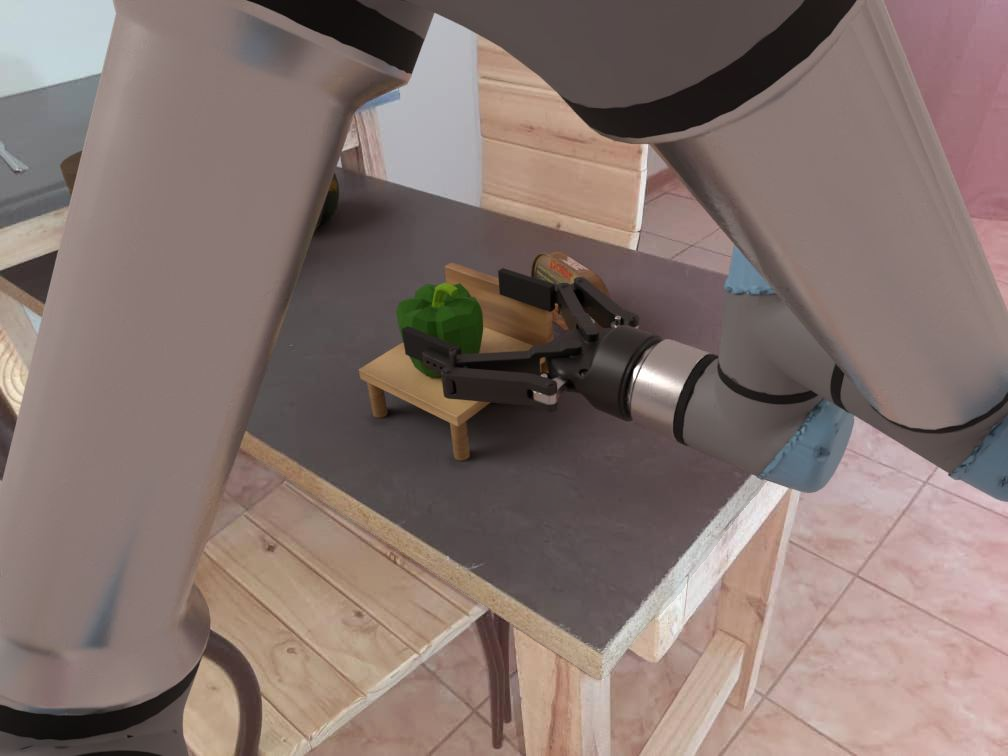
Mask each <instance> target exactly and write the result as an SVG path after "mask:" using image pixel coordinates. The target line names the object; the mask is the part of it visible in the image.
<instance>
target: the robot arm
mask: <svg viewBox="0 0 1008 756" xmlns="http://www.w3.org/2000/svg"><path fill="white" fill-rule="evenodd" d="M112 4H113V8H114V12H115V15H114V20H113V24H112V28H111V31H110V37H109V39H108V40H109V41H108V45H107V49H106V53H105V57H104V60H103V65H102V70H101V74H100V77H99V82H98V85H97V90H96V94H95V98H94V102H93V105H92V106H93V107H92V110H91V115H90V119H89V122H88V127H87V129H86V130H87V131H86V136H85V139H84V143H83V148H82V150H83V151H82V150H81V151H82V155H81V159H80V163H79V167H78V172H77V176H76V180H75V184H74V188H73V192H72V196H71V195H70V200H69V204H68V209H67V213H66V217H65V221H64V225H63V230H62V233H61V237H60V241H59V246H58V250H57V253H56V258H55V261H54V267H53V270H52V274H51V278H50V283H49V286H48V291H47V296H46V299H45V303H44V306H43V312H42V317H41V320H40V324H39V328H38V332H37V336H36V340H35V345H34V349H33V352H32V357H31V361H30V366H29V368H28V373H27V378H26V381H25V386H24V389H23V393H22V398H21V402H20V406H19V410H18V414H17V418H16V422H15V426H14V430H13V434H12V439H11V442H10V447H9V451H8V455H7V459H6V463H5V468H4V472H3V476H2V479H1V484H0V756H190V754H189V750H188V747H187V743H186V739H185V735H184V712H185V707H186V705H187V701H188V699H189V695H190V693H191V691H192V688H193V685H194V681H195V679H196V676H197V673H198V671H199V669H200V668H199V667H200V664H201V662H202V659H203V657H204V654H205V651H206V648H207V645H208V642H209V637H210V634H211V614H210V608H209V606H208V603H207V600H206V598H205V596H204V595H203V593H202V591H201V589H200V588H199V586H198V585H197V584H196V583H195V579H196V576H197V572H198V570H199V566H200V564H201V560H202V558H203V556H204V552H205V549H206V546H207V543H208V540H209V537H210V535H211V531H212V529H213V526H214V523H215V520H216V517H217V514H218V512H219V508H220V506H221V503H222V501H223V497H224V495H225V492H226V488H227V485H228V482H229V480H230V478H231V475H232V471H233V468H234V466H235V462H236V459H237V457H238V455H239V454H238V453H239V451H240V448H241V446H242V442H243V439H244V436H245V433H246V430H247V428H248V425H249V422H250V419H251V417H252V414H253V410H254V408H255V404H256V402H257V399H258V395H259V393H260V389H261V387H262V384H263V381H264V378H265V375H266V373H267V369H268V367H269V364H270V360H271V358H272V355H273V352H274V349H275V346H276V344H277V341H278V338H279V334H280V332H281V329H282V327H283V323H284V320H285V317H286V316H287V315H286V314H287V312H288V309H289V306H290V303H291V301H292V297H293V294H294V292H295V288H296V285H297V282H298V280H299V277H300V274H301V272H302V268H303V266H304V262H305V259H306V256H307V255H308V254H307V253H308V250H309V247H310V245H311V243H312V239H313V237H314V233H315V231H316V229H317V228H316V225H317V222H318V219H319V216H320V213H321V210H322V207H323V205H324V202H325V199H326V196H327V193H328V190H329V187H330V184H331V181H332V178H333V176H334V173H335V174H336V169H337V166H338V163H339V161H340V158H341V155H342V152H343V149H344V146H345V143H346V142H347V137H348V135H349V132H350V129H351V127H352V123H353V120H354V117H355V114H356V113H357V112H358V111H360V109H361V108H362V107H364V105H366V104H367V103H369V102H372V101H373V100H375V99H377V98H380V97H382V96H385V95H387V94H390V93H391V92H393V91H396V90H398V89H401V88H402V87H405V86H406V85H407V86H408V84H409V82H410V80H411V78H412V76H413V72H414V69H415V67H416V64H417V61H418V59H419V57H420V53H421V51H422V48H423V45H424V42H425V40H426V38H427V35H428V32H429V29H430V27H431V25H432V21H433V20H434V19H433V18H434V15H435V14H436V15H438V16H441V17H443V18H445V19H447V20H449V21H451V22H453V23H455V24H458V25H459V26H462V27H464V28H465V29H468V30H469V31H471V32H472V33H474V34H476V35H478V36H479V37H482V38H484V39H486V40H487V41H489V42H491V43H493V44H494V45H496V46H498V47H499V48H500V49H502V50H504V51H505V52H506V53H508V54H509V55H511V56H512V57H513V58H514V59H516V60H517V61H518V62H520V63H521V64H522V65H524V67H526V68H527V69H529V70H531V71H532V72H533V73H534V74H536V75H537V76H538V77H540V79H542V80H543V81H544V82H545V83H546V84H547V85H548V86H549V87H550V88H551V89H552V90H553V91H554V92H556V93H557V94H558V95H559V97H560V98H561V99H562V100H563V101H564V102H565V103H566V104H567V106H569V108H570V109H571V110H572V111H573V112H574V113H575V114H576V115H577V116H578V117H579V118H580V119H581V121H583V122H584V123H585V125H586V126H587V127H588V128H589V129H590V130H593V132H595V133H597V134H598V135H599V136H601V137H604V138H606V139H609V140H611V141H614V142H618V143H624V144H628V145H649V146H650V147H651V149H653V150H654V152H655V153H656V154H657V155H658V156H659V158H660V159H661V160H662V161H663V162H664V163H665V165H666V166H667V167H668V168H669V169H670V171H671V172H672V173H673V174H674V175H675V176H676V178H677V179H678V180H679V181H680V182H681V184H683V186H684V187H685V188H686V190H687V191H688V192H689V193H690V194H691V196H693V198H694V199H695V200H696V201H697V202H698V203H699V205H700V206H701V207H702V208H703V209H704V210H705V212H706V213H707V214H708V216H709V217H710V218H711V219H712V220H713V221H714V222H715V224H716V225H717V226H718V227H719V229H721V231H722V232H723V233H724V234H725V235H726V236H727V238H728V239H729V240H730V241H731V242H732V244H733V246H732V252H731V256H730V257H731V258H730V264H729V268H728V274H727V278H726V279H725V281H724V285H723V286H724V287H723V289H724V299H723V308H722V319H721V329H720V336H719V337H720V339H719V347H718V348H719V349H718V354H714V353H712V352H709V351H706V350H703V349H701V348H697V347H695V346H692V345H689V344H687V343H684V342H681V341H678V340H675V339H673V338H672V339H671V338H665V339H663V338H662V337H661V336H660V335H658V334H655V333H652V332H650V331H646V330H643V329H641V328H640V316H639V315H638V314H636V313H634V312H632V311H629V310H626V309H624V308H622V307H621V306H620V305H618V304H617V303H616V302H615V301H614V300H612V298H611V297H610V298H611V299H610V298H609V297H607V296H606V295H605V294H604V293H602V292H601V291H600V290H599V289H598V288H596V287H595V286H594V285H593V284H592V283H590V282H589V281H588V280H587V279H586V278H584V277H576V278H575V279H574V283H572V284H568V283H559V284H555V283H552V282H548V281H546V280H543V279H537V278H533V277H531V276H529V275H526V274H523V273H520V272H517V271H514V270H510V269H507V268H504V267H502V268H499V270H497V276H498V277H497V278H499V292H500V295H503V296H506V297H508V298H511V299H514V300H517V301H520V302H523V303H526V304H529V305H532V306H534V307H537V308H540V309H543V310H546V311H549V312H552V311H553V310H554V309H555V303H556V304H558V314H559V313H561V315H562V317H563V319H564V321H565V323H566V325H567V327H568V329H569V330H563V332H561V333H560V335H559V336H558V337H557V338H553V340H552V341H550V342H549V343H548V344H546V345H534V346H532V347H531V348H530V350H528V351H512V352H494V353H477V354H462V353H461V347H458V346H456V345H453V344H451V343H448V342H446V341H443V340H441V339H439V338H436V337H434V336H431V335H429V334H426V333H424V332H421V331H419V330H417V329H414V328H412V327H409V326H406V327H405V328H403V329H402V335H403V340H402V342H403V341H404V348H405V354H406V355H408V356H410V357H412V358H415V359H417V360H419V361H421V362H423V363H424V366H425V367H426V368H427V369H429V370H432V371H435V372H436V373H438V374H441V378H442V386H443V393H444V397H445V398H448V399H458V400H469V401H481V402H490V403H492V404H504V405H515V406H527V407H532V408H534V409H537V410H541V411H543V412H546V413H554V412H556V411H557V410H558V408H559V407H558V405H559V403H558V402H559V401H558V400H559V399H560V397H562V395H563V394H564V393H565V392H567V393H577V394H580V395H582V396H583V397H584V398H585V399H586V400H587V401H588V403H589V404H590V405H591V406H592V407H593V408H594V409H595V410H597V411H600V412H602V413H605V414H607V415H610V416H612V417H614V418H616V419H619V420H621V421H624V422H633V423H634V425H636V426H637V427H640V428H642V429H644V430H647V431H650V432H652V433H654V434H657V435H659V436H660V437H661V436H662V437H664V438H667V439H668V440H671V441H674V442H676V443H679V444H681V445H683V446H685V447H688V448H690V449H693V450H695V451H698V452H699V453H702V454H704V455H707V456H709V457H711V458H714V459H716V460H718V461H720V462H723V463H725V464H726V465H730V466H732V467H734V468H737V469H739V470H741V471H742V472H746V473H748V474H751V476H752V475H753V476H754V477H756V478H757V479H759V480H761V481H767V482H770V483H773V484H776V485H779V486H781V487H785V488H787V489H790V490H794V491H797V492H801V493H806V494H812V493H817V492H819V491H820V490H822V489H823V488H824V487H825V486H827V485H828V483H830V481H831V479H832V478H833V476H834V475H835V472H836V471H837V469H838V467H839V465H840V463H841V462H842V459H843V457H844V455H845V452H846V449H847V448H848V445H849V442H850V439H851V436H852V432H853V429H854V425H855V417H856V418H858V419H859V420H861V421H862V422H864V423H866V424H867V425H869V426H871V427H872V428H874V429H876V430H877V431H879V432H881V433H882V434H883V435H885V436H887V437H889V438H890V439H892V440H894V441H896V442H897V443H899V444H900V445H902V446H903V447H904V448H907V449H908V450H910V451H911V452H913V453H915V454H916V455H918V456H920V457H921V458H923V459H925V460H926V461H928V462H929V463H931V464H932V465H934V466H936V467H938V468H939V469H941V470H942V471H944V472H946V473H947V476H948V477H950V478H951V479H953V480H955V481H962V482H963V483H965V484H967V485H969V486H971V487H973V488H975V489H977V490H978V491H980V492H982V493H984V494H986V495H987V496H989V497H991V498H994V499H995V500H997V501H1000V502H1003V503H1008V309H1007V306H1006V303H1005V301H1004V299H1003V296H1002V293H1001V291H1000V288H999V286H998V283H997V281H996V278H995V276H994V273H993V269H992V268H991V266H990V263H989V261H988V258H987V255H986V253H985V251H984V248H983V246H982V245H983V244H982V243H981V240H980V237H979V236H978V233H977V230H976V228H975V225H974V223H973V221H972V218H971V216H970V213H969V210H968V208H967V205H966V203H965V201H964V198H963V196H962V192H961V190H960V187H959V186H958V182H957V180H956V177H955V176H954V172H953V171H952V168H951V165H950V163H949V161H948V157H947V156H946V153H945V150H944V148H943V145H942V143H941V140H940V137H939V135H938V133H937V130H936V128H935V125H934V123H933V120H932V117H931V115H930V113H929V110H928V108H927V105H926V102H925V100H924V97H923V95H922V93H921V90H920V88H919V85H918V83H917V80H916V78H915V75H914V72H913V69H912V68H911V65H910V63H909V60H908V57H907V55H906V52H905V50H904V47H903V45H902V42H901V40H900V37H899V35H898V31H897V30H896V27H895V25H894V22H893V20H892V18H891V17H892V16H891V15H890V13H889V11H888V7H887V5H886V1H885V0H112ZM315 228H316V229H315ZM590 317H591V318H592V319H593V320H594V321H596V322H597V323H598V324H599V325H600V326H601V327H602V328H597V326H596V325H594V323H593V321H592V319H591V318H590ZM543 357H545V366H546V368H547V370H548V372H549V373H541V372H540V359H541V358H543ZM465 367H467V368H465Z"/></svg>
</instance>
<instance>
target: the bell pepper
mask: <svg viewBox="0 0 1008 756" xmlns="http://www.w3.org/2000/svg"><path fill="white" fill-rule="evenodd" d="M395 313H396V314H395V315H396V319H397V323H398V330H399V333H400V337H401V340H402V342H403V343H404V341H403V335H402V329H403V328H405V327H406V326H409V327H412V328H414V329H417V330H419V331H421V332H424V333H426V334H429V335H431V336H434V337H436V338H439V339H441V340H443V341H446V342H448V343H451V344H453V345H456V346H458V347H461V353H462V354H477V353H479V351H480V347H481V341H482V335H483V315H482V309H481V306H480V304H479V303H478V301H477V300H476V298H475V297H471V295H470V294H469V292H468V290H466V289H465V288H464V287H463V286H462V285H461V284H460V283H459V284H454V285H452V284H448V283H446V282H443V283H440V284H438V285H437V284H436V285H435V284H429V283H426V284H424V285H423V286H421V287H420V288H418V289H417V290H415V291H414V297H411V298H405V299H403V300H401V301H399V302H398V305H397V308H396V312H395ZM409 357H410V356H409ZM410 359H411V361H412V363H413V365H414V367H415V368H417V369H418V370H419V371H420V372H422V373H423V374H425V375H426V376H428V377H438V376H440V375H441V374H438V373H436V372H435V371H432V370H429V369H427V368H426V367H425V366H424V363H423V362H421V361H419V360H417V359H415V358H412V357H410ZM465 368H467V367H465Z"/></svg>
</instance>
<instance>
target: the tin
mask: <svg viewBox="0 0 1008 756" xmlns="http://www.w3.org/2000/svg"><path fill="white" fill-rule="evenodd" d="M530 277H533V278H537V279H543V280H546V281H548V282H552V283H555V284H559V283H568V284H572V283H574V279H575V278H576V277H584V278H586V279H587V280H588V281H589V282H590V283H592V284H593V285H594V286H595V287H596V288H598V289H599V290H600V291H601V292H602V293H604V294H605V295H606V296H607V297H609V298H610V299H611V300H612V298H611V295H610V292H609V290H608V287H607V285H606V283H605V282H604V280H603V279H602V278H601V277H600V276H599V274H597V273H596V272H594V271H593V270H591V269H590V268H588V267H587V266H586V265H584V264H582V263H581V262H579V261H578V260H577V259H574V257H571V256H570V255H569V254H567V253H565V252H564V251H561V250H554V251H550V252H541V253H539V254H537V255H536V256H535V257H534V258H533V261H532V263H531V271H530ZM552 318H553V322H554V323H555V324H557V325H558V326H559V327H560V328H561V329H563V331H565V330H569V329H568V327H567V325H566V323H565V321H564V319H563V317H562V315H561V313H559V314H558V304H556V303H555V309H554V310H553V311H552ZM590 318H591V317H590ZM591 319H592V318H591ZM592 321H593V323H594V325H596V326H597V328H602V327H601V326H600V325H599V324H598V323H597V322H596V321H594V320H593V319H592Z"/></svg>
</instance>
